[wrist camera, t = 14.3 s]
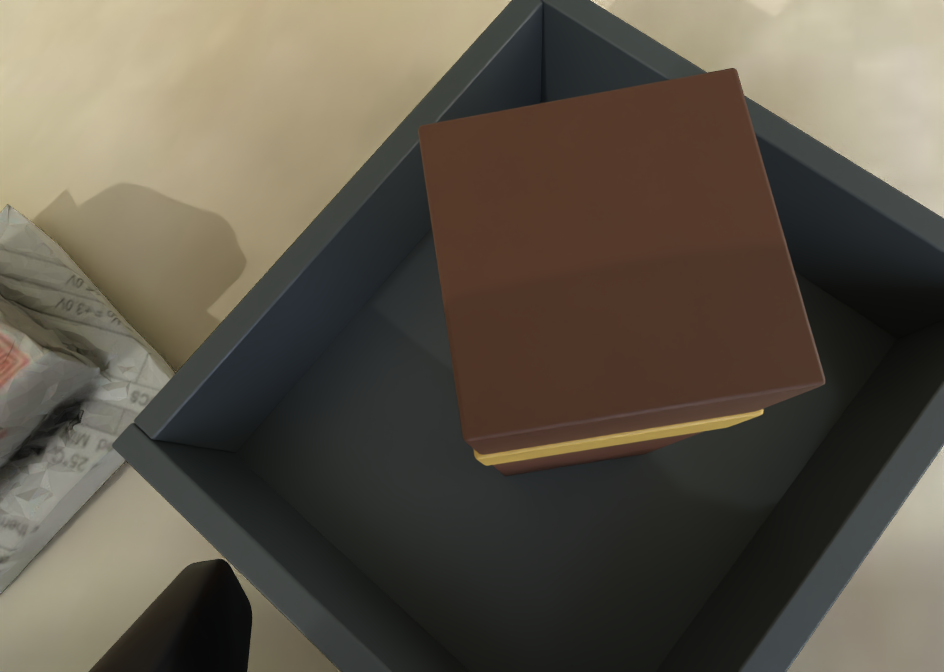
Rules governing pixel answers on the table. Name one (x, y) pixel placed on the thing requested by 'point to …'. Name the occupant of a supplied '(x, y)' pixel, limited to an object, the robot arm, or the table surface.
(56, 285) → the packaged product
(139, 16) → the table surface
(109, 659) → the robot arm
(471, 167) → the chocolate box
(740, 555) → the open storage bin
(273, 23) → the table surface
